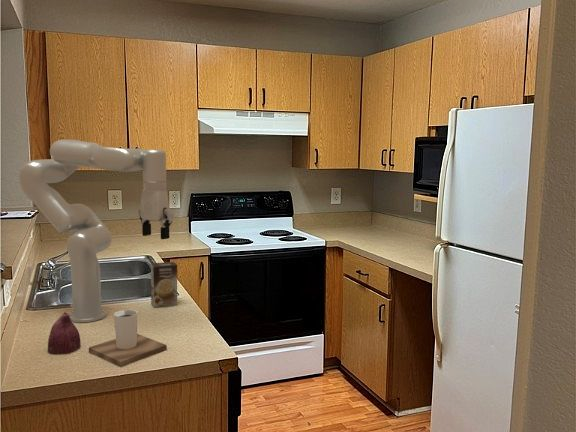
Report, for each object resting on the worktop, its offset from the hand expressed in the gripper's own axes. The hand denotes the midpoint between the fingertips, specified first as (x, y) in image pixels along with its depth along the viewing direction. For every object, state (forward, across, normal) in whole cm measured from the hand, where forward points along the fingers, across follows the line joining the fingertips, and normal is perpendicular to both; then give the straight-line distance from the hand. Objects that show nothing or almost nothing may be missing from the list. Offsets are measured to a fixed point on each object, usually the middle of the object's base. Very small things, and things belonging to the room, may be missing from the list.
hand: (155, 237), depth 175 cm
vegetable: (+31, -3, -32) cm, 44 cm away
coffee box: (+31, -15, +15) cm, 37 cm away
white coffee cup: (+29, +12, -21) cm, 38 cm away
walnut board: (+30, +13, -21) cm, 39 cm away
